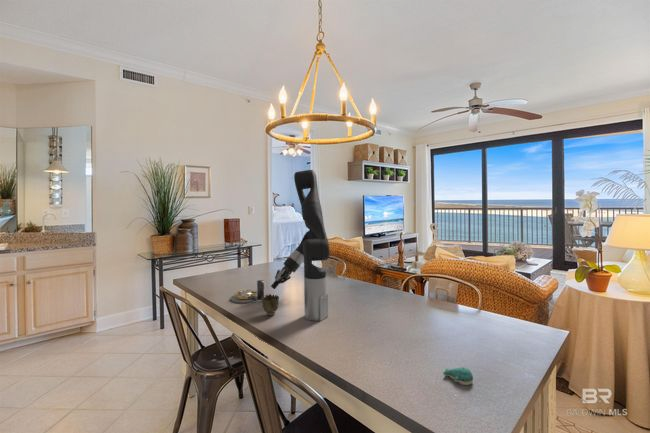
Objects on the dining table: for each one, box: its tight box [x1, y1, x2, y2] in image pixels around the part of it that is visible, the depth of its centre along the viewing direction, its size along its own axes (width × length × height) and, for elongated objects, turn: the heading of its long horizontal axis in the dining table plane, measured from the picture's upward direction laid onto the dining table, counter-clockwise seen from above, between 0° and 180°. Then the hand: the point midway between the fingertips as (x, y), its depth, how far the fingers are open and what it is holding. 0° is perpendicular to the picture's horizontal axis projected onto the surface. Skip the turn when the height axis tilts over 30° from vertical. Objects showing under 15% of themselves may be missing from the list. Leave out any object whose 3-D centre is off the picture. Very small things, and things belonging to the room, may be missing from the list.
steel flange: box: [230, 290, 259, 304], centre depth 157 cm, size 15×15×3 cm
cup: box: [261, 293, 280, 317], centre depth 134 cm, size 8×7×8 cm
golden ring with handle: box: [233, 279, 265, 301], centre depth 155 cm, size 17×12×9 cm
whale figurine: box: [443, 366, 474, 386], centre depth 84 cm, size 6×7×4 cm
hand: (272, 287), depth 154 cm, fingers closed
